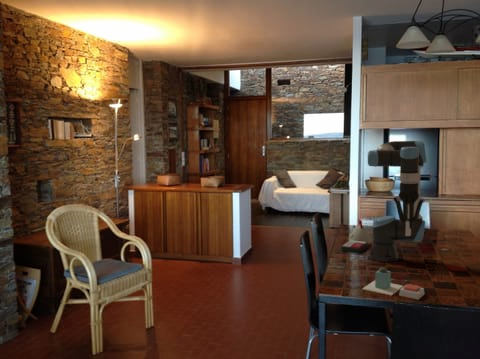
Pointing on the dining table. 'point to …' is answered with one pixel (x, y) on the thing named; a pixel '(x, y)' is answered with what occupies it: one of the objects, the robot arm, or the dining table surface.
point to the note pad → (389, 291)
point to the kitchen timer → (361, 234)
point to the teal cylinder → (382, 278)
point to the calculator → (355, 246)
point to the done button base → (411, 293)
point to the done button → (412, 287)
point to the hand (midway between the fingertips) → (408, 235)
